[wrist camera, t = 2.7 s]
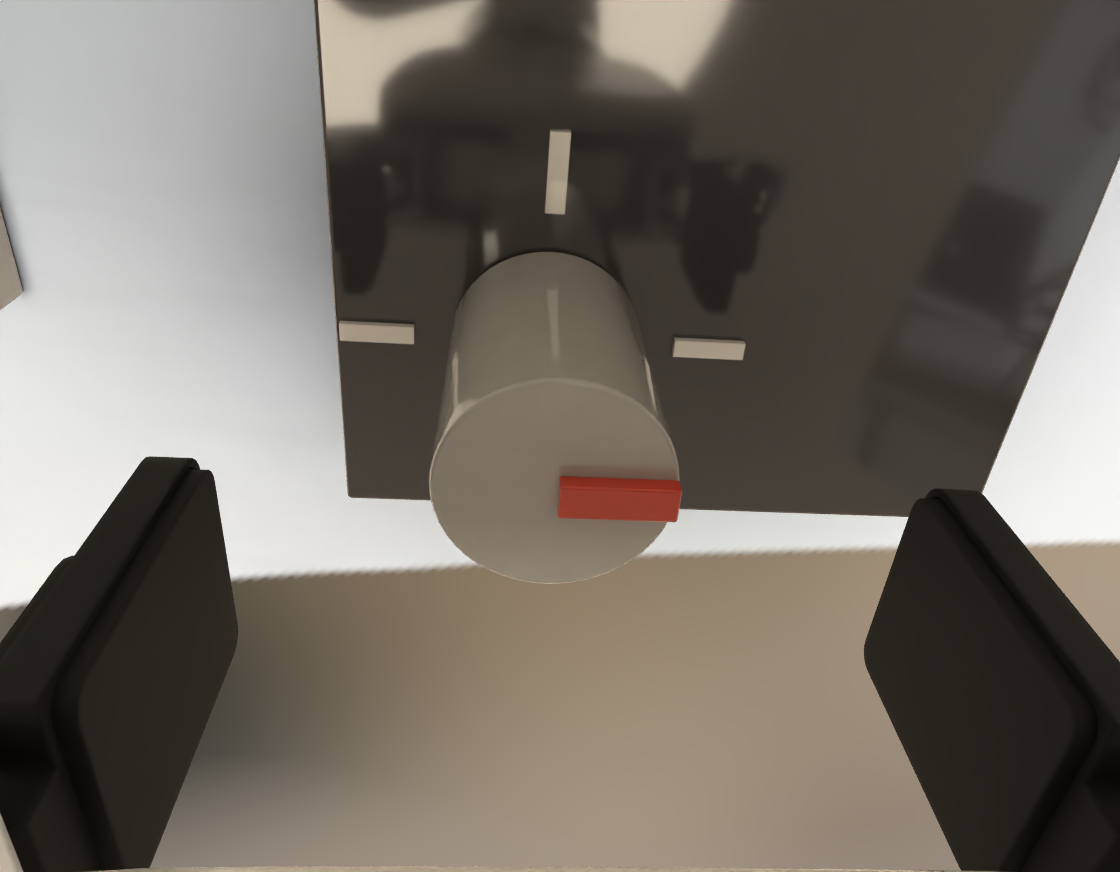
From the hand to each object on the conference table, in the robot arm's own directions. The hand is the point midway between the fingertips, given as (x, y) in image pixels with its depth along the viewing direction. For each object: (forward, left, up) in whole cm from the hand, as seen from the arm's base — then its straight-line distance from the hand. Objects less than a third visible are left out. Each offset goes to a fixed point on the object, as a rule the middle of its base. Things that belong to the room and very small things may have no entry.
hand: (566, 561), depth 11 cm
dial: (0, 0, -6) cm, 6 cm away
